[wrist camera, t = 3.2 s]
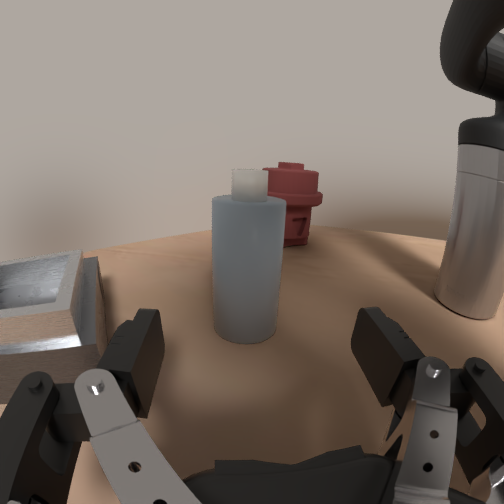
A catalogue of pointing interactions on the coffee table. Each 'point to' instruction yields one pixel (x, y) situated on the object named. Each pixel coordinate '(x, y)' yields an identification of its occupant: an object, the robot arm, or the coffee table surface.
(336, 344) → the coffee table surface
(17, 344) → the square grey open box
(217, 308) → the pale blue squeeze bottle
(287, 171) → the mechanical component
